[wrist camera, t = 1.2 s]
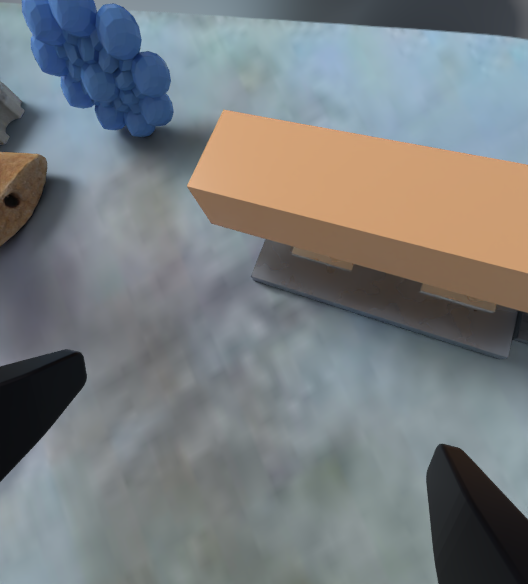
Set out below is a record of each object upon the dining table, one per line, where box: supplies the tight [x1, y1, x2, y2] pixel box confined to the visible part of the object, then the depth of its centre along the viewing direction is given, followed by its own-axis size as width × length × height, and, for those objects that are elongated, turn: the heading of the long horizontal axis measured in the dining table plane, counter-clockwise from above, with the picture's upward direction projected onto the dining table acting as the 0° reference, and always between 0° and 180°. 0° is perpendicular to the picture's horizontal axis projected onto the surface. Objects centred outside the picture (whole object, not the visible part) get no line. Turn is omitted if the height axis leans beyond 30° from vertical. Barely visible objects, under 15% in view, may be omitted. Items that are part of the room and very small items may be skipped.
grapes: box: [22, 0, 173, 137], centre depth 24 cm, size 12×7×12 cm, turn 71°
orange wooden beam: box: [187, 110, 528, 313], centre depth 17 cm, size 24×5×9 cm, turn 69°
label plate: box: [251, 239, 518, 359], centre depth 22 cm, size 17×10×1 cm, turn 69°
